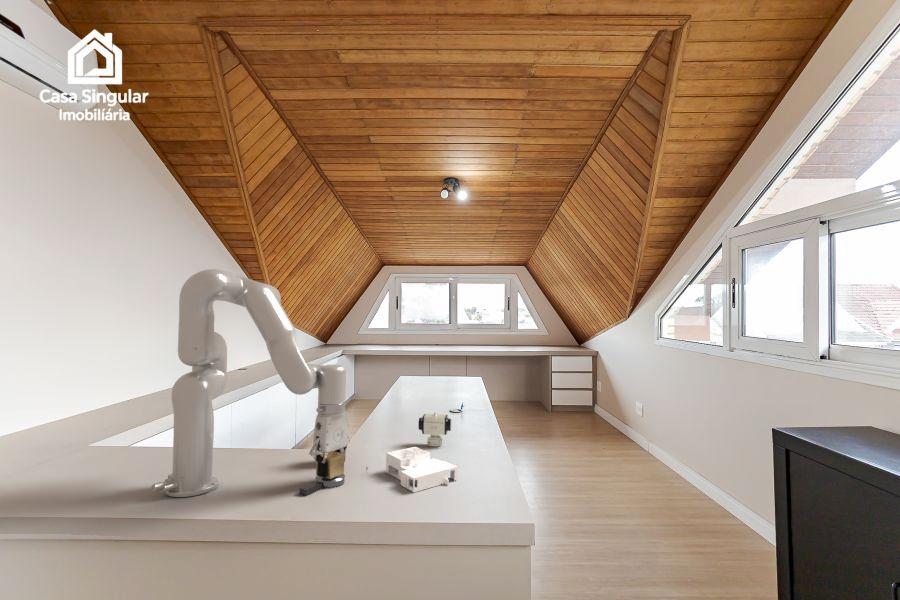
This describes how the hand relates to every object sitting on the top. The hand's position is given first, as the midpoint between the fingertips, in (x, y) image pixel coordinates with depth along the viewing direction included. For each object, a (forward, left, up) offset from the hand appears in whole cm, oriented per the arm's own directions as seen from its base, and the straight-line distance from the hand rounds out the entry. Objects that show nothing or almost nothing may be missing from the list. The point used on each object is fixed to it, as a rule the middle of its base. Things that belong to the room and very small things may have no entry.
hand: (330, 472), depth 125 cm
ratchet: (-3, 0, -3) cm, 4 cm away
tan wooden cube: (0, 0, 0) cm, 0 cm away
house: (+16, -21, -4) cm, 26 cm away
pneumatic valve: (+46, -7, -3) cm, 47 cm away
